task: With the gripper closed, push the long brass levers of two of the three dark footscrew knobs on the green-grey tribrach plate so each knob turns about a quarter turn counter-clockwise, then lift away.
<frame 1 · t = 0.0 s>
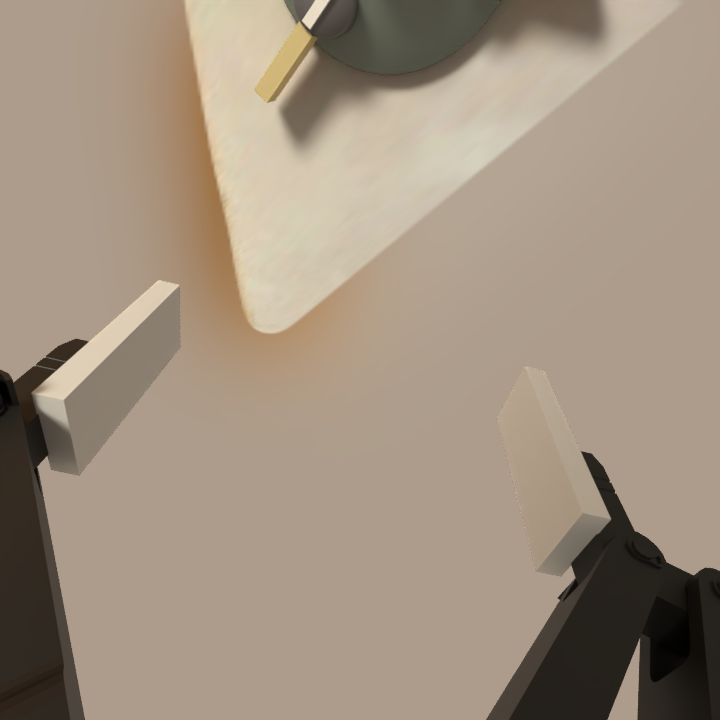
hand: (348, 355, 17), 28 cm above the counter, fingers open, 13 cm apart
knob a: (302, 39, 32), point 3 cm above the counter, hinge at 0.0°
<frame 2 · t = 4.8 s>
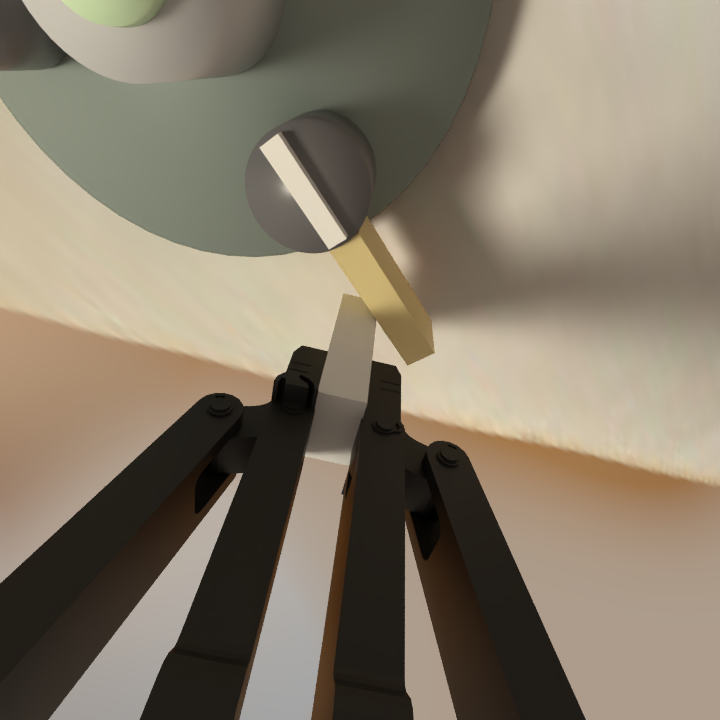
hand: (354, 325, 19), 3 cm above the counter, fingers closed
knob a: (358, 249, 16), point 3 cm above the counter, hinge at 0.0°, touching gripper
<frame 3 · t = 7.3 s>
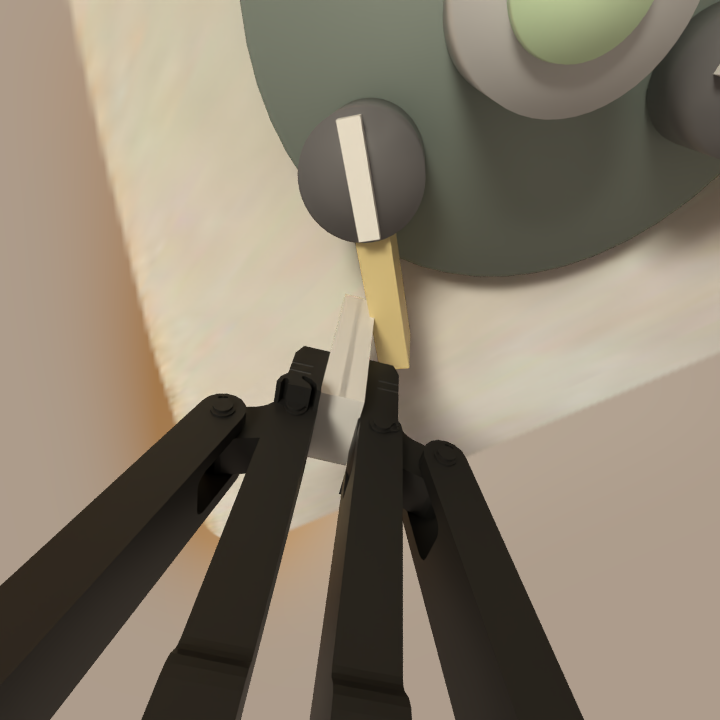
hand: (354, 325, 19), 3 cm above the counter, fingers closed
knob a: (378, 248, 17), point 3 cm above the counter, hinge at 56.9°, touching gripper
tribrach plate: (518, 7, 15), on the counter
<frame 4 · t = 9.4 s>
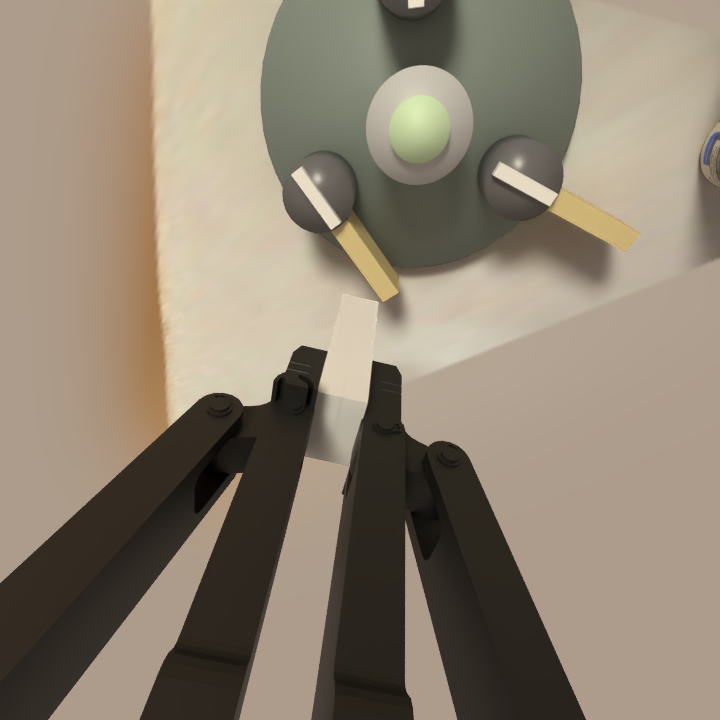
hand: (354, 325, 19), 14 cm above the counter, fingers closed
knob a: (348, 230, 27), point 3 cm above the counter, hinge at 90.5°
tribrach plate: (414, 116, 27), on the counter
knob b: (558, 200, 26), point 3 cm above the counter, hinge at 0.0°
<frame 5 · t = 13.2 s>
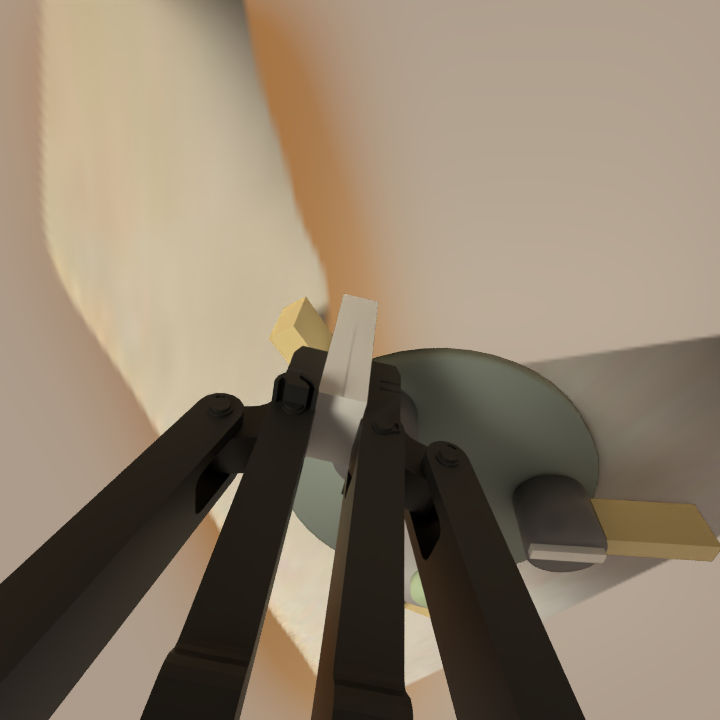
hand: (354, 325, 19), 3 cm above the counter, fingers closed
knob a: (412, 587, 28), point 3 cm above the counter, hinge at 90.8°
knob c: (347, 400, 20), point 3 cm above the counter, hinge at 0.0°, touching gripper
tribrach plate: (432, 473, 27), on the counter
knob b: (610, 529, 24), point 3 cm above the counter, hinge at 0.0°
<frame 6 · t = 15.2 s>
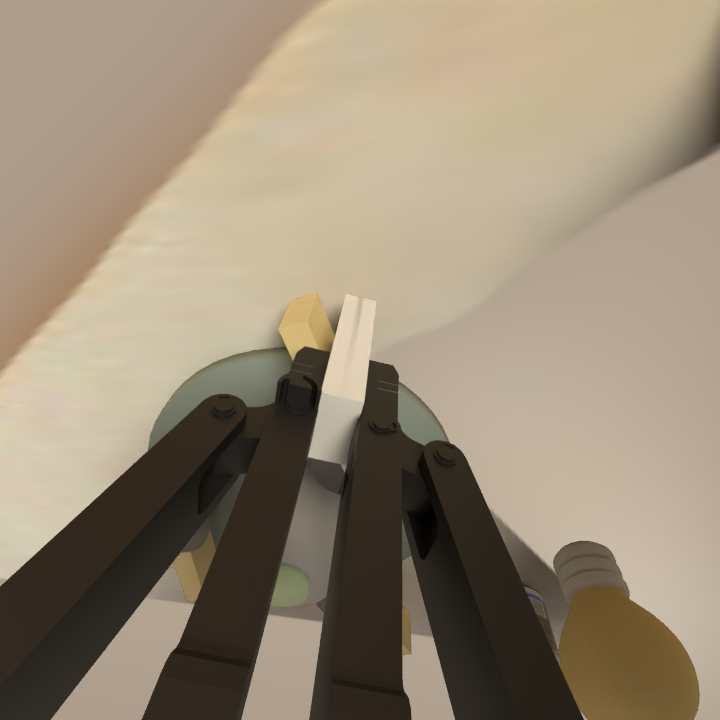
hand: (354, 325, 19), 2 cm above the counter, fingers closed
knob a: (188, 538, 26), point 3 cm above the counter, hinge at 90.8°
knob c: (337, 403, 20), point 3 cm above the counter, hinge at 50.0°, touching gripper
tribrach plate: (304, 473, 27), on the counter
knob b: (371, 602, 29), point 3 cm above the counter, hinge at 0.0°
pill bottle: (509, 598, 34), on the counter
light bulb: (578, 549, 30), on the counter
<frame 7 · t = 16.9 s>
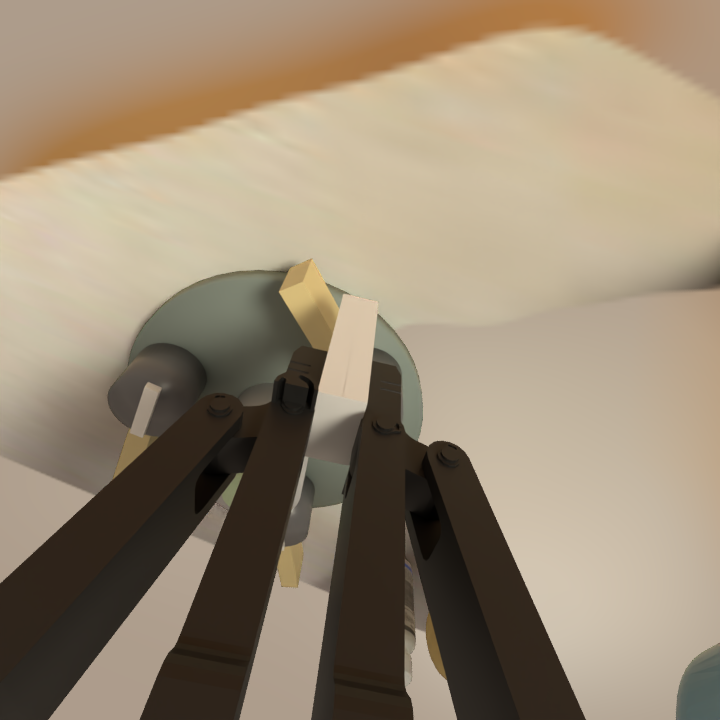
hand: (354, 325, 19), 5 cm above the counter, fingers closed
knob a: (147, 423, 26), point 3 cm above the counter, hinge at 90.8°
knob c: (342, 357, 22), point 3 cm above the counter, hinge at 84.2°
tribrach plate: (279, 402, 28), on the counter
knob b: (285, 534, 31), point 3 cm above the counter, hinge at 0.0°
pill bottle: (384, 564, 38), on the counter
light bulb: (460, 539, 36), on the counter
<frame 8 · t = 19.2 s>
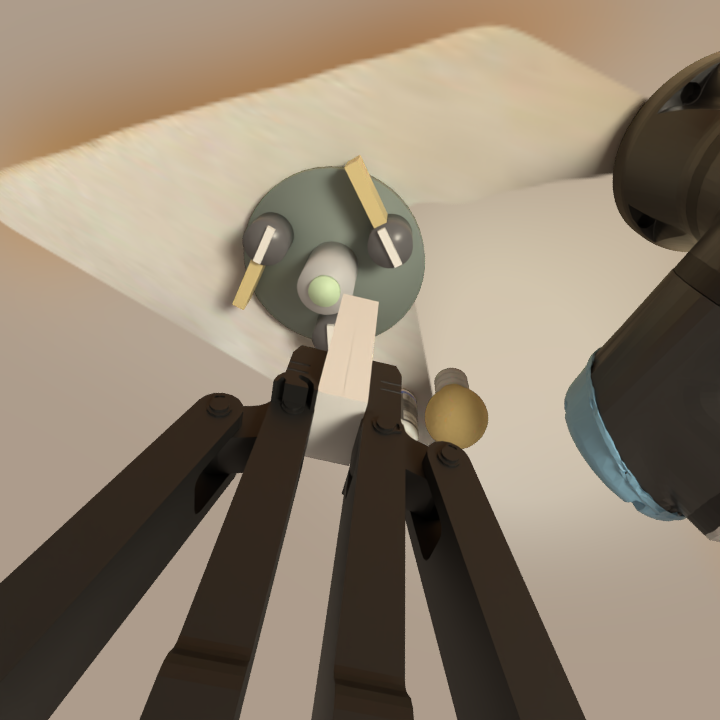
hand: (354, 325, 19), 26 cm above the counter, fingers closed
knob a: (257, 263, 43), point 3 cm above the counter, hinge at 90.8°
knob c: (377, 213, 39), point 3 cm above the counter, hinge at 86.6°
tribrach plate: (334, 261, 45), on the counter
knob b: (334, 354, 48), point 3 cm above the counter, hinge at 0.0°
pill bottle: (397, 401, 55), on the counter
light bulb: (450, 377, 52), on the counter
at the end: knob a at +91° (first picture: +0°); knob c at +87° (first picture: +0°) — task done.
